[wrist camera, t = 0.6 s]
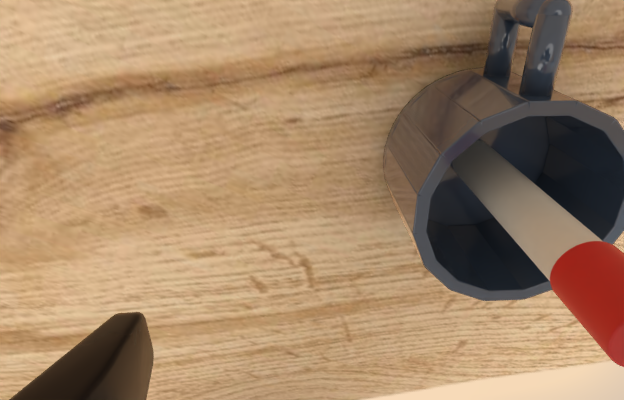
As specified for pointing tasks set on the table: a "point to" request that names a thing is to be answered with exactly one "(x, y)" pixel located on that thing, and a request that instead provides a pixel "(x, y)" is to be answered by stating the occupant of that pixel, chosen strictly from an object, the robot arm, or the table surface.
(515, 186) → the marker
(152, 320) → the table surface
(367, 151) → the table surface
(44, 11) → the table surface
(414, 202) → the mug
